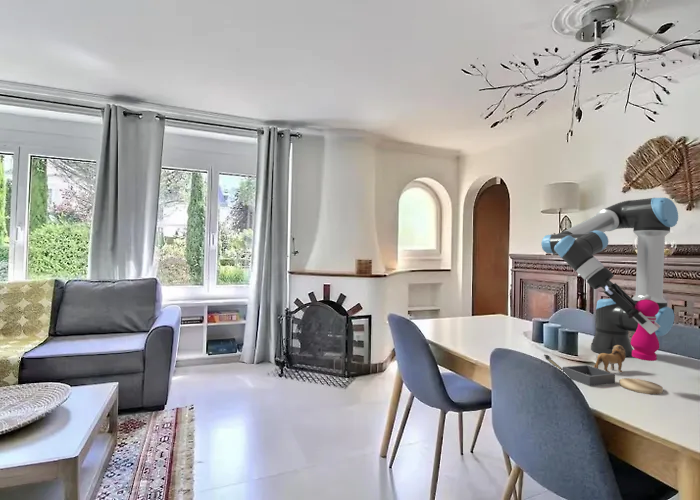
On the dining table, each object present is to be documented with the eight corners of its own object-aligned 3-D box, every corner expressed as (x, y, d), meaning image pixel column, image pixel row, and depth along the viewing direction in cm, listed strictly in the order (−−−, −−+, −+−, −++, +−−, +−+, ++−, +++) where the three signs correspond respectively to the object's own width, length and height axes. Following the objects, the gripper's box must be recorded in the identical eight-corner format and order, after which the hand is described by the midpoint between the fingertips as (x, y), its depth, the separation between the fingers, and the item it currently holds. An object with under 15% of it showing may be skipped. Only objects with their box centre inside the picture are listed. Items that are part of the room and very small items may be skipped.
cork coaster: (636, 380, 131) (636, 377, 131) (671, 392, 120) (671, 388, 120) (611, 383, 127) (611, 379, 127) (645, 395, 117) (645, 391, 117)
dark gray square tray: (586, 373, 138) (586, 364, 138) (614, 383, 128) (615, 374, 128) (562, 375, 135) (562, 366, 135) (589, 386, 124) (589, 376, 124)
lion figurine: (613, 367, 146) (614, 343, 146) (629, 371, 141) (629, 346, 141) (589, 371, 140) (590, 346, 140) (604, 376, 135) (605, 350, 135)
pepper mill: (625, 356, 124) (629, 293, 123) (634, 353, 128) (638, 292, 127) (653, 363, 118) (657, 297, 117) (662, 359, 122) (666, 295, 121)
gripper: (592, 280, 141) (648, 333, 129) (579, 282, 127) (640, 341, 116) (610, 266, 137) (669, 319, 126) (598, 266, 124) (663, 326, 113)
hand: (655, 330), depth 121 cm, fingers closed on pepper mill, 5 cm apart
